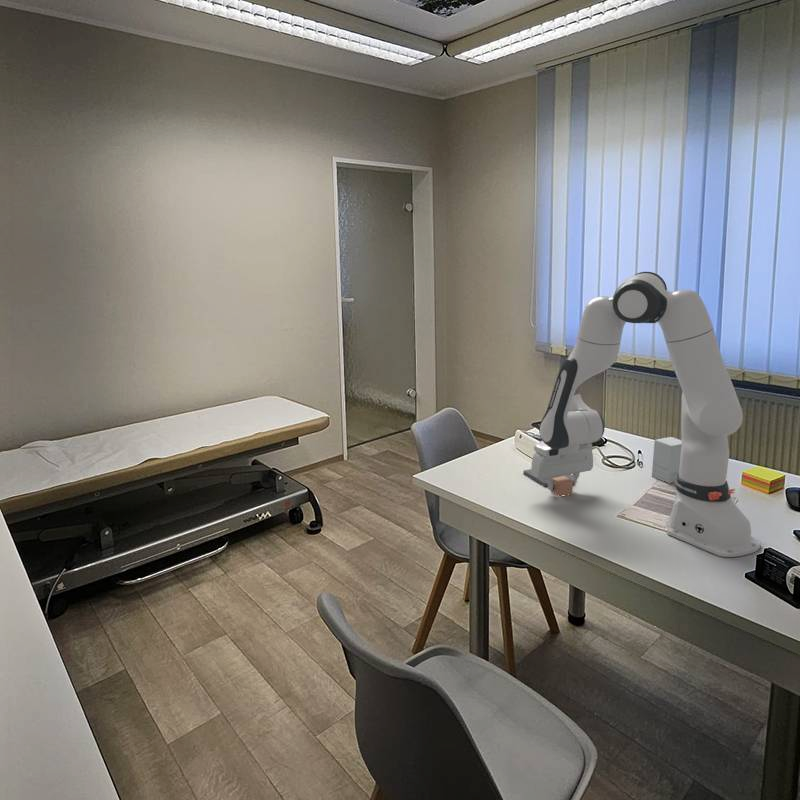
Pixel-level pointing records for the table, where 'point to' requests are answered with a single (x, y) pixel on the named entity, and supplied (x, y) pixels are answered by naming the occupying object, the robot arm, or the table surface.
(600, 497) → the table surface
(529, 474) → the board
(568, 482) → the terracotta block
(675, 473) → the supplement box
